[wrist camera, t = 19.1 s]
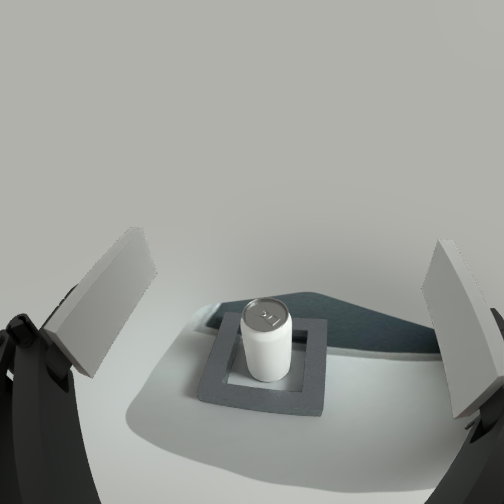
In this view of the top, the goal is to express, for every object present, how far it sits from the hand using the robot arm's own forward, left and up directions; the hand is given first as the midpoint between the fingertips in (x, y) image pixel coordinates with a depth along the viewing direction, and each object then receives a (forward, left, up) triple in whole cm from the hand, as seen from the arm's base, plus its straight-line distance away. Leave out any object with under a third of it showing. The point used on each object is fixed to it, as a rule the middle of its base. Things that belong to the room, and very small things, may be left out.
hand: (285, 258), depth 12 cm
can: (+4, -13, -30) cm, 33 cm away
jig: (+4, -13, -30) cm, 33 cm away
